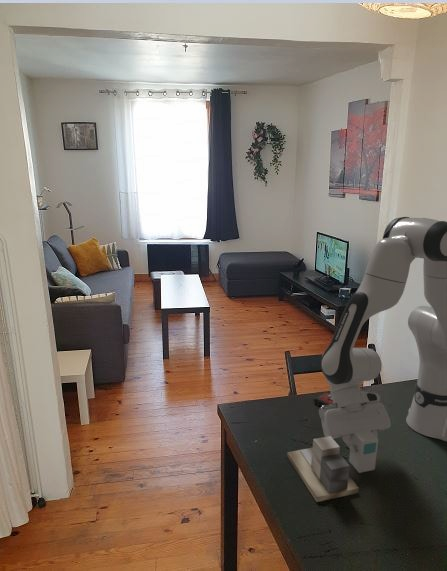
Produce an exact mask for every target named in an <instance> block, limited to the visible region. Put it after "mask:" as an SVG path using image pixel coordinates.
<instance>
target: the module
mask: <svg viewBox="0 0 447 571" xmlns="http://www.w3.org/2000/svg"><path fill="white" fill-rule="evenodd" d="M350 441H351V442H352V443H353V445H357V449H358V452H355V453H351V451H349V457H348V458H349V459H348V462H349V463H350V464H351V466H353V468H354V469H355V470H356V471H357V472H358V474H359V473H360V474H361V473H365V472H370V471H374V470H375V469H376V464H377V463H376V461H377V454H378V448H379V445H378V444H379V438H378V436H377V437H376V436H375V435H374V434H373V433H372V432H371V431H370V430H368V431H362V432H356V433H354V434H352V435H351V439H350ZM377 447H378V448H377Z"/></svg>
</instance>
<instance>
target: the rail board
mask: <svg viewBox="0 0 447 571" xmlns="http://www.w3.org/2000/svg"><path fill="white" fill-rule="evenodd" d="M312 440H313V441H312V447H309V448H308V447H307V448H302V449H298V450H293V451H287V453H286V457H287V459H288V460H289V463H291V465H292V467H293V468H294V470H295V472H296V473H297V474H298V476H299V478H300V479H301V480H302V482H303V483H304V484H305V486H306V488H307V489H308V491H309V492H310V494H311V496H312V497H313V499H314V500H315V502H316V503H318V502H324V501H329V500H333V499H337V498H343V497H346V496H352V495H355V494H358V493H359V490H360V488H359V487H358V485H357V484H356V482H354V480H353V479H352V478H351V477H350V469H351V468H350V467H351V466H350V464H349V463H348V462H347V461H346V459H345V458H344V457H343V456H342V455H341V454H340V450H341V449H340V448H341V446H340V445H339V444H338V443H337V442H336V440H334V439H333V438H332V437H331V436H328V437H325V436H324V437H323V436H322V437H318V438H313V439H312Z"/></svg>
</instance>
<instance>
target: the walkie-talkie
mask: <svg viewBox="0 0 447 571" xmlns="http://www.w3.org/2000/svg"><path fill="white" fill-rule="evenodd" d="M313 402H314V403H315V404H316V405H317V404H318V405H317V406H319V407H320V408H321V407H322V406H323V405H329V404H334V403H333V400H332V397H331V393H328V392H323V393H322V394H321V395H318V396H317V399H316V398H315V399H314V400H313ZM327 409H328V408H327Z"/></svg>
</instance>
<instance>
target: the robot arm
mask: <svg viewBox="0 0 447 571" xmlns="http://www.w3.org/2000/svg"><path fill="white" fill-rule="evenodd" d="M416 258H419V259H423V264H422V266H423V268H422V269H423V295H424V298H425V300H426V301H427V303H428V304H429V306H428V305H420V306H419V305H418V306H416V307H415V308H414V309H413V310H412V311H411V312H410V313H409V316H408V318H407V319H408V320H407V325H408V328H409V330H410V331H411V333H412V335H413V337H414V339H415V342H416V347H417V350H418V357H419V358H418V359H419V366H418V373H417V374H418V375H417V380H416V382H415V384H414V385H415V386H414V392H413V398H412V402H411V405H410V407H409V408H408V411H407V412H408V413H407V416H406V417H405V418H406V419H405V421H406V424H407V425H408V426H409V427H410V429H412V430H413V431H415V432H416V433H418V434H420V435H423V436H425V437H429V438H433V439H437V440H441V441H444V442H447V221H446V220H445V221H444V220H437V219H433V218H427V217H410V216H402V217H397V218H394V219H393V220H391V221H390V222H389V223H388V225H387V226H386V228H385V230H384V233H383V236H382V239H380V240H378V241H377V243H376V244H375V247H374V249H373V250H372V253H371V255H370V257H369V260H368V263H367V265H366V268H365V271H364V275H363V278H362V280H361V283H360V284H359V286H358V288H357V290H356V291H355V292H354V293H353V295H351V296H350V297H349V299H348V301H347V303H346V304H345V307H344V310H343V311H342V314H341V316H340V319H339V321H338V324H337V327H336V329H335V331H334V334H333V336H332V338H331V341H330V342H329V344H328V345H327V348H326V349H325V350H324V352H323V353H322V355H321V360H320V368H321V371H322V374H323V376H324V377H325V381H326V383H327V384H328V386H329V390H330V394H331V397H332V400H333V403H334V404H329V405H323V406H322V407H321V406H320V407H319V409H318V416H319V418H320V420H321V427H322V432H323V436H324V437H328V436H331V437H332V438H333V440H334V439H338V438H341V439H342V441H343V443H344V444H345V445H346V446H347V447H349V450H350V451H351V453H355V452H358V449H357V445H353V443H352V442H351V439H352V434H354V433H356V432H362V431H368V430H370V431H371V432H372V433H373V434H374V435H375V436H376V437H377V438H378V436H379V434H378V431H383V430H387V429H388V428H391V424H392V423H391V422H392V421H391V419H390V417H389V414H388V411H387V409H386V407H385V406H384V404H383V403H382V402H380V401H381V396H380V395H379V394H378V393H375V392H370V391H365V390H362V389H361V386H360V383H361V382H369V381H372V380H375V379H377V378H378V377H379V376H380V375H381V372H382V360H381V357H380V356H379V354H378V353H377V351H375V349H373V348H369V347H368V348H367V347H355V345H356V342H357V339H358V338H359V334H360V332H361V329H362V327H363V325H365V322H367V321H368V320H369V319H370V318H372V317H373V316H374V315H377V314H379V313H382V312H384V311H388V310H390V309H392V308H393V307H395V306H396V305H398V303H399V302H400V300H401V298H402V296H403V294H404V291H405V288H406V285H407V281H408V277H409V272H410V268H411V264H412V263H413V261H414V260H415V259H416ZM327 408H328V409H327ZM378 448H379V446H378V447H377V449H378ZM350 451H349V452H350Z"/></svg>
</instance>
